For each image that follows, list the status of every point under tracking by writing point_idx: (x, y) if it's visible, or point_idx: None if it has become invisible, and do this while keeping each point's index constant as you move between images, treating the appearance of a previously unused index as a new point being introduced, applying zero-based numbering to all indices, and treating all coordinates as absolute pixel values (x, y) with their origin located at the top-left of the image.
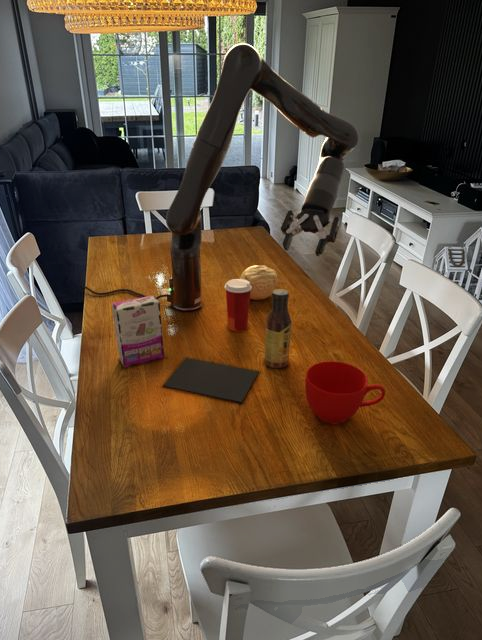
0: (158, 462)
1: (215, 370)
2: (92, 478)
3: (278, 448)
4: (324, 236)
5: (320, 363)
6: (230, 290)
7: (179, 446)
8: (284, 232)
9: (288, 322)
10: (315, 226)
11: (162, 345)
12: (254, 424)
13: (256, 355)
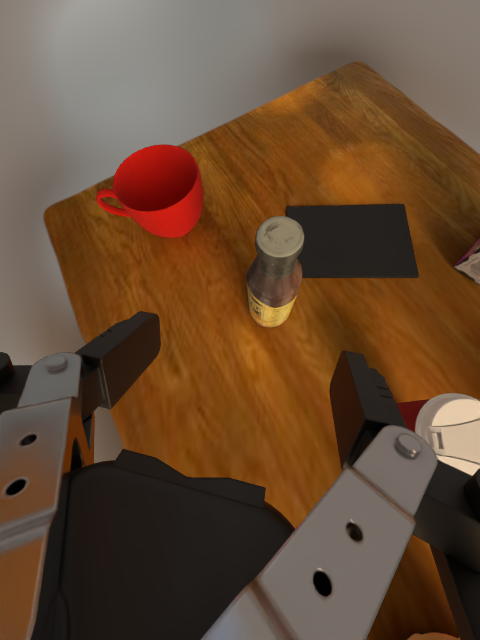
0: (330, 114)
1: (352, 257)
2: (374, 85)
3: (226, 160)
4: (49, 360)
5: (180, 201)
6: (471, 398)
7: (322, 134)
8: (445, 464)
9: (250, 266)
10: (88, 480)
11: (473, 253)
12: (260, 182)
13: (308, 325)
